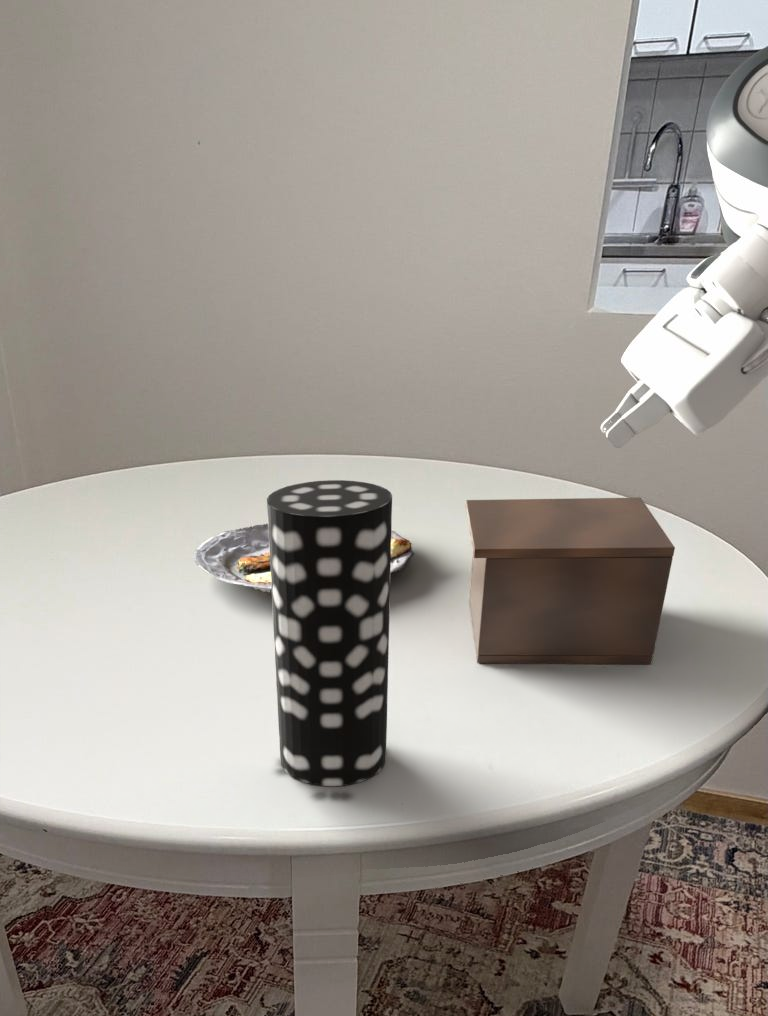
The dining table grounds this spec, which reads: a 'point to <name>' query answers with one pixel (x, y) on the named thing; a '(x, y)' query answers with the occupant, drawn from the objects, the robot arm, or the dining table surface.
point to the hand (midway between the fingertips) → (608, 438)
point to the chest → (567, 609)
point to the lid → (565, 528)
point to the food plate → (263, 556)
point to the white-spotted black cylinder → (331, 627)
